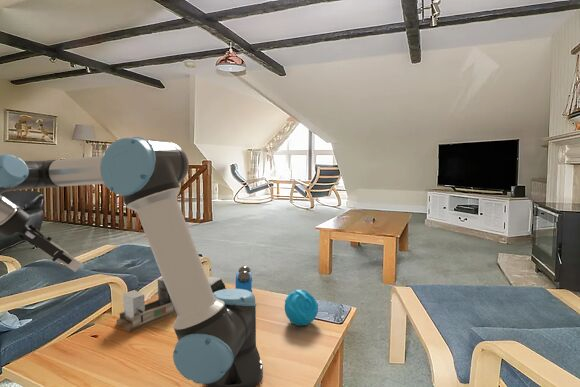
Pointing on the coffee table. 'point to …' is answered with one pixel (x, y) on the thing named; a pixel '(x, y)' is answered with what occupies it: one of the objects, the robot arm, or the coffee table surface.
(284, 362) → the coffee table surface
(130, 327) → the frame
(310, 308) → the blue round piece
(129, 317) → the carriage
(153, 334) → the coffee table surface
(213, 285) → the miniature car
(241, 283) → the alarm clock
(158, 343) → the coffee table surface
